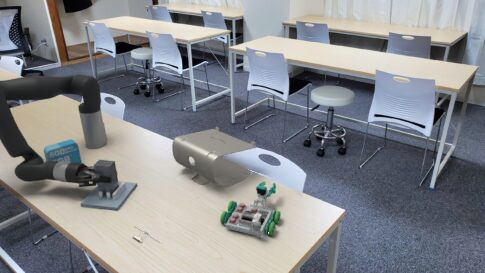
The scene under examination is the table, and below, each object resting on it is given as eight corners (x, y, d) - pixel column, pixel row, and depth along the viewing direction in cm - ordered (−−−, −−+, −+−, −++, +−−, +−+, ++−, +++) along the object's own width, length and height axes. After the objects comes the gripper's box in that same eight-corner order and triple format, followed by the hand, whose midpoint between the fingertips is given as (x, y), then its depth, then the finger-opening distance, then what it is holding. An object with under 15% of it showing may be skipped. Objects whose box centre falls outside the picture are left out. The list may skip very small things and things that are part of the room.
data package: (53, 177, 150) (46, 151, 145) (49, 173, 153) (42, 147, 148) (82, 167, 157) (77, 141, 152) (78, 163, 160) (73, 138, 155)
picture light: (162, 243, 116) (162, 238, 115) (151, 251, 113) (150, 246, 112) (134, 225, 124) (133, 220, 123) (123, 232, 120) (122, 227, 120)
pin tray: (103, 182, 146) (102, 174, 145) (137, 185, 144) (136, 177, 143) (81, 206, 132) (79, 197, 131) (117, 210, 130) (116, 201, 128)
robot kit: (290, 200, 136) (291, 178, 132) (270, 245, 115) (271, 220, 111) (242, 190, 142) (242, 169, 138) (215, 230, 121) (214, 207, 117)
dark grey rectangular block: (104, 187, 140) (99, 159, 134) (119, 189, 139) (114, 161, 134) (98, 193, 136) (93, 165, 131) (114, 195, 135) (109, 166, 130)
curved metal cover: (172, 172, 154) (169, 138, 147) (214, 152, 169) (213, 121, 162) (215, 196, 138) (214, 160, 131) (257, 172, 154) (258, 138, 147)
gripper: (56, 173, 129) (102, 178, 126) (79, 154, 141) (121, 158, 139) (60, 191, 132) (105, 196, 129) (82, 171, 145) (124, 175, 142)
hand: (113, 176), depth 134 cm, fingers closed on dark grey rectangular block, 4 cm apart
